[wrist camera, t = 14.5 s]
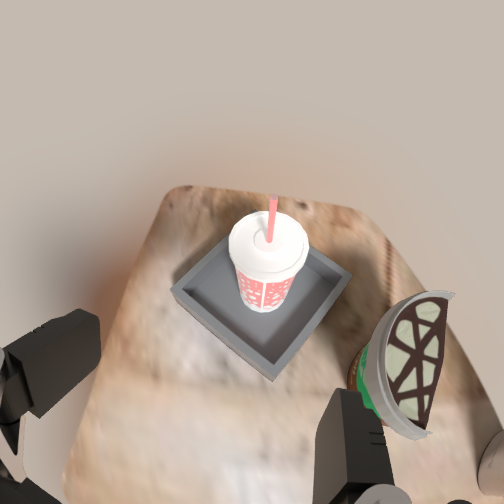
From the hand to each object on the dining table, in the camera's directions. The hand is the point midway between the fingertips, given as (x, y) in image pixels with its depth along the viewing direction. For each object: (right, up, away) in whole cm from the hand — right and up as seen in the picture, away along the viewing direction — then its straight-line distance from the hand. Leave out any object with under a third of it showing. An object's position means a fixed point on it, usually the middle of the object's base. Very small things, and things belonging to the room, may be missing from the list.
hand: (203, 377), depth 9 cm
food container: (+13, -8, +18) cm, 23 cm away
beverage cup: (+3, 0, +22) cm, 22 cm away
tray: (+3, -1, +22) cm, 22 cm away
